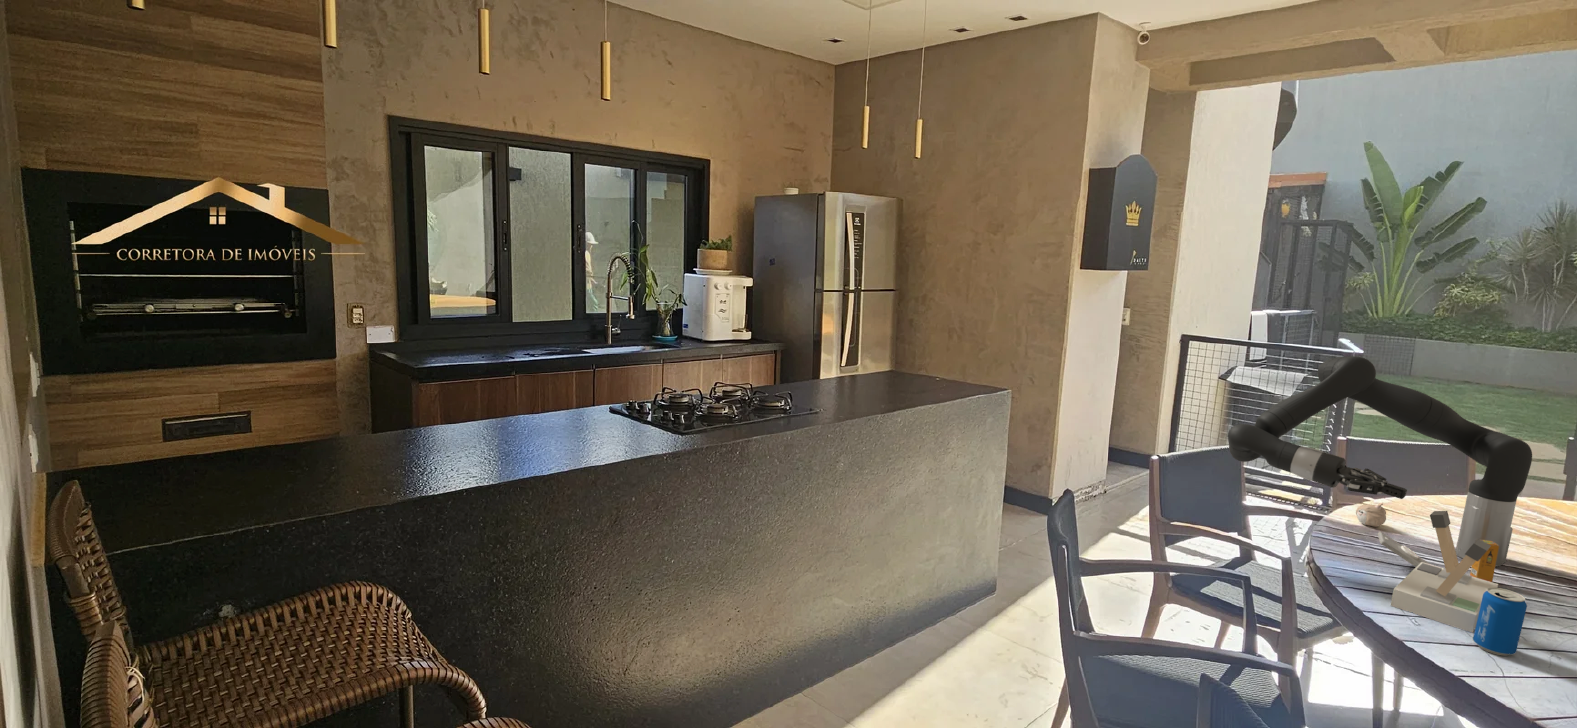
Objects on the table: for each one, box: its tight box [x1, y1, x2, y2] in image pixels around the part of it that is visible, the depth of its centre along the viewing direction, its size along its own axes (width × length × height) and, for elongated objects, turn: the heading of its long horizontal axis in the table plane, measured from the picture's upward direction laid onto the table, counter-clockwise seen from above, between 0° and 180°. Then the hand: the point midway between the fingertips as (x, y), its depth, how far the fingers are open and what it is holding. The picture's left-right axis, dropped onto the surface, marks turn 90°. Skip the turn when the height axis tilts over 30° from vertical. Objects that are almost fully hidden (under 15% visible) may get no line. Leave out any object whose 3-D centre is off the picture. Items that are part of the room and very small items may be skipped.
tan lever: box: [1436, 539, 1491, 596], centre depth 164 cm, size 2×4×14 cm, turn 130°
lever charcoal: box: [1429, 510, 1460, 573], centre depth 178 cm, size 2×4×14 cm, turn 128°
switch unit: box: [1390, 562, 1499, 633], centre depth 173 cm, size 14×24×4 cm, turn 129°
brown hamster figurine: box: [1355, 502, 1387, 528], centre depth 219 cm, size 7×6×8 cm
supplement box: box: [1469, 540, 1499, 582], centre depth 185 cm, size 3×3×10 cm
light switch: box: [1377, 531, 1431, 568], centre depth 191 cm, size 8×5×13 cm
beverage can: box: [1472, 587, 1528, 657], centre depth 154 cm, size 6×6×12 cm
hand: (1405, 494), depth 172 cm, fingers closed
